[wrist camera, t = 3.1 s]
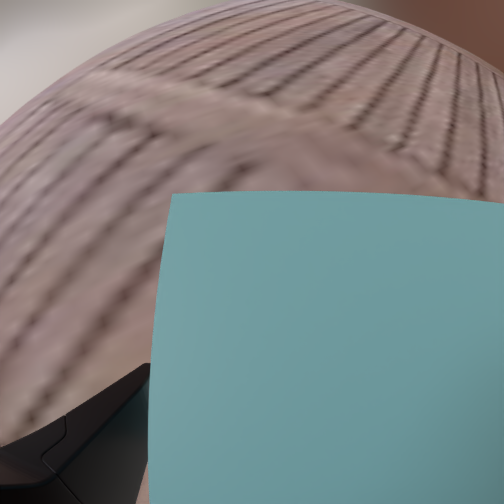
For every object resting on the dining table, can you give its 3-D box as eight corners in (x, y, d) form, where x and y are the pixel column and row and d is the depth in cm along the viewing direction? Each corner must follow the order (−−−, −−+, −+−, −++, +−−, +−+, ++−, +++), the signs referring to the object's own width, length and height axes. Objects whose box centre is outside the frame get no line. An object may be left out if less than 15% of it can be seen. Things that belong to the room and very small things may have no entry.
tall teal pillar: (338, 437, 13) (567, 460, 1) (237, 443, 13) (156, 577, 1) (334, 363, 15) (519, 205, 3) (237, 367, 15) (172, 193, 3)
